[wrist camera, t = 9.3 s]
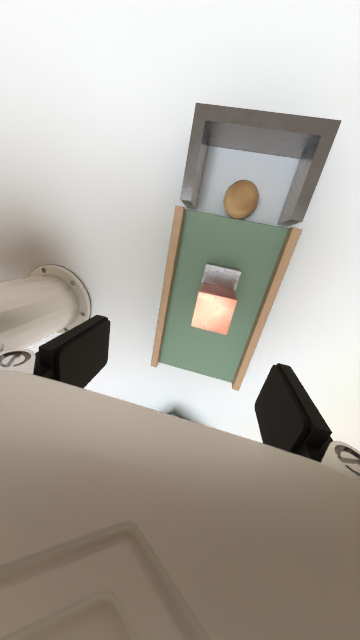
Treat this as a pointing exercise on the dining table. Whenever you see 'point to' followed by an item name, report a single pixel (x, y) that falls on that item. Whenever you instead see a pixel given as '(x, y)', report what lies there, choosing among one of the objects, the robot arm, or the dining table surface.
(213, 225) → the pitch
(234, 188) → the ball
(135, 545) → the robot arm
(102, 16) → the dining table surface
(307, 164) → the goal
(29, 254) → the dining table surface
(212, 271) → the silver-capped pink block
